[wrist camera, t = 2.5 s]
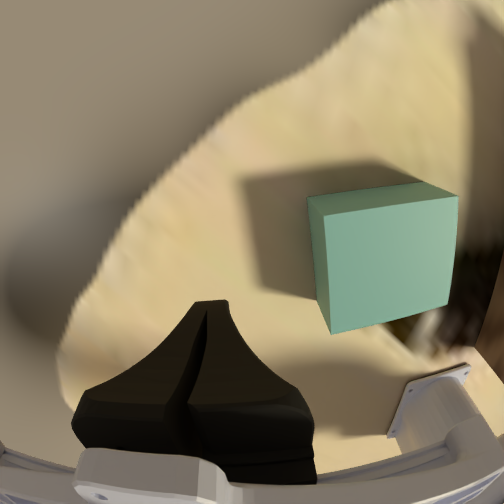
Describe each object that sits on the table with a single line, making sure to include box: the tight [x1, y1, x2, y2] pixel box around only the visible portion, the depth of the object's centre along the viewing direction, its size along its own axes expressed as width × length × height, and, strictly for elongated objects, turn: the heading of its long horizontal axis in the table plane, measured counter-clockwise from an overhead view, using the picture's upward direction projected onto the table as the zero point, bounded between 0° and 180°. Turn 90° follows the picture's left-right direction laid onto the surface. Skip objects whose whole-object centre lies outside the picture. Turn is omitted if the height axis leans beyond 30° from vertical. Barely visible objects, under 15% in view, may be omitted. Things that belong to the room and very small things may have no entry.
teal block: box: [307, 182, 458, 335], centre depth 17 cm, size 7×8×4 cm
